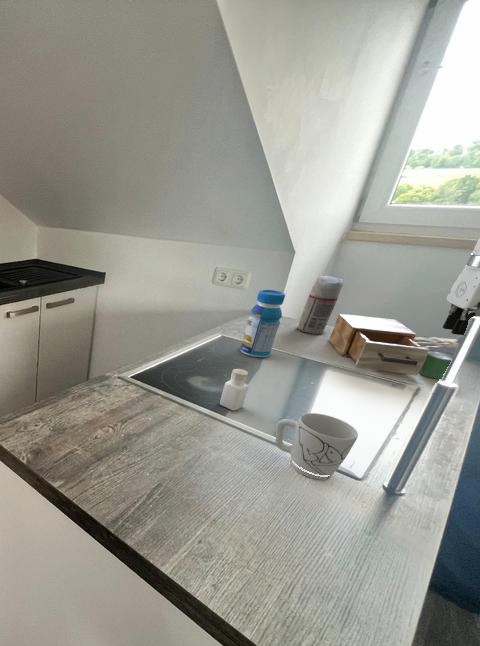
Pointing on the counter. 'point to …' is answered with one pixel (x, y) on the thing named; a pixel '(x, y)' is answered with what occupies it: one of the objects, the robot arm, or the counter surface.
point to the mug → (317, 443)
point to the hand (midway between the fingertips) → (455, 331)
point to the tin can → (435, 364)
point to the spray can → (320, 304)
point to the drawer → (386, 352)
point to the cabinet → (363, 329)
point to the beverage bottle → (263, 324)
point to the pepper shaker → (235, 390)
